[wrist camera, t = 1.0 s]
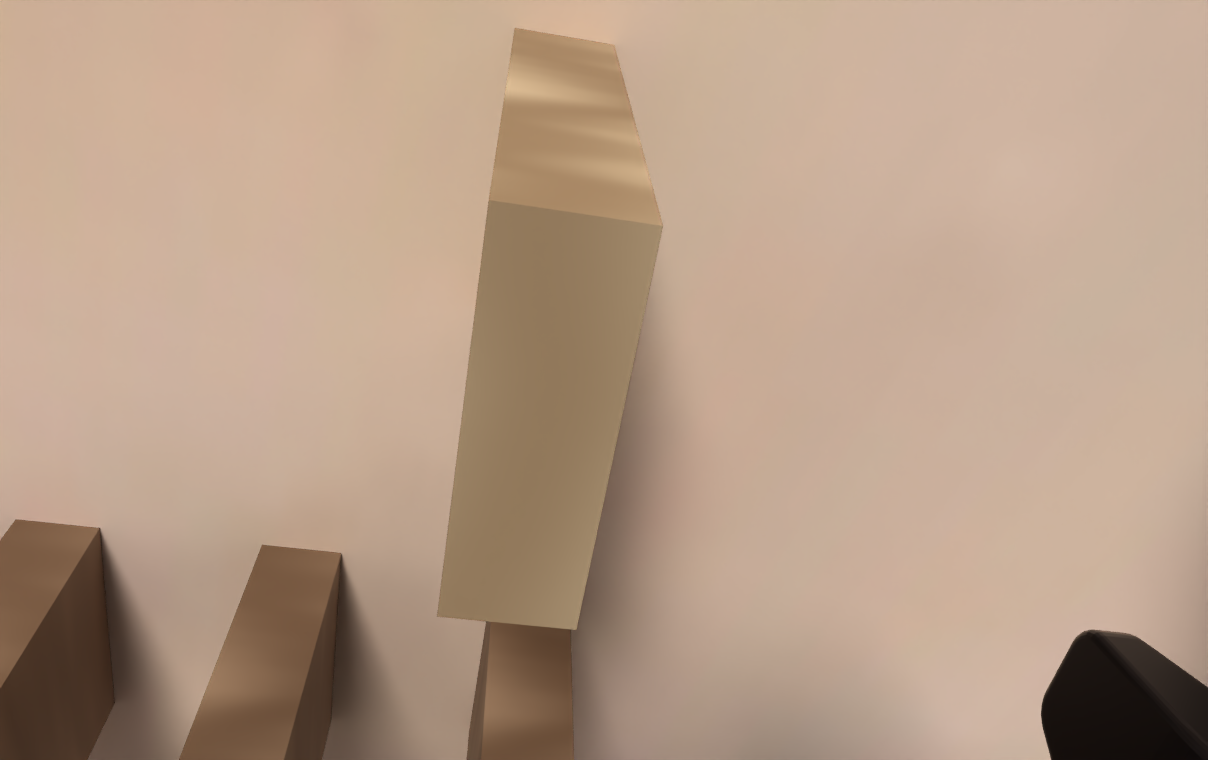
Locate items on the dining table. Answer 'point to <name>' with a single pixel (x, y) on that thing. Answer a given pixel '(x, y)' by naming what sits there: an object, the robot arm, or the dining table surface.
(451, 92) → the dining table surface
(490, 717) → the domino
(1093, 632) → the robot arm
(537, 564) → the domino
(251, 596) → the domino
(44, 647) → the domino
